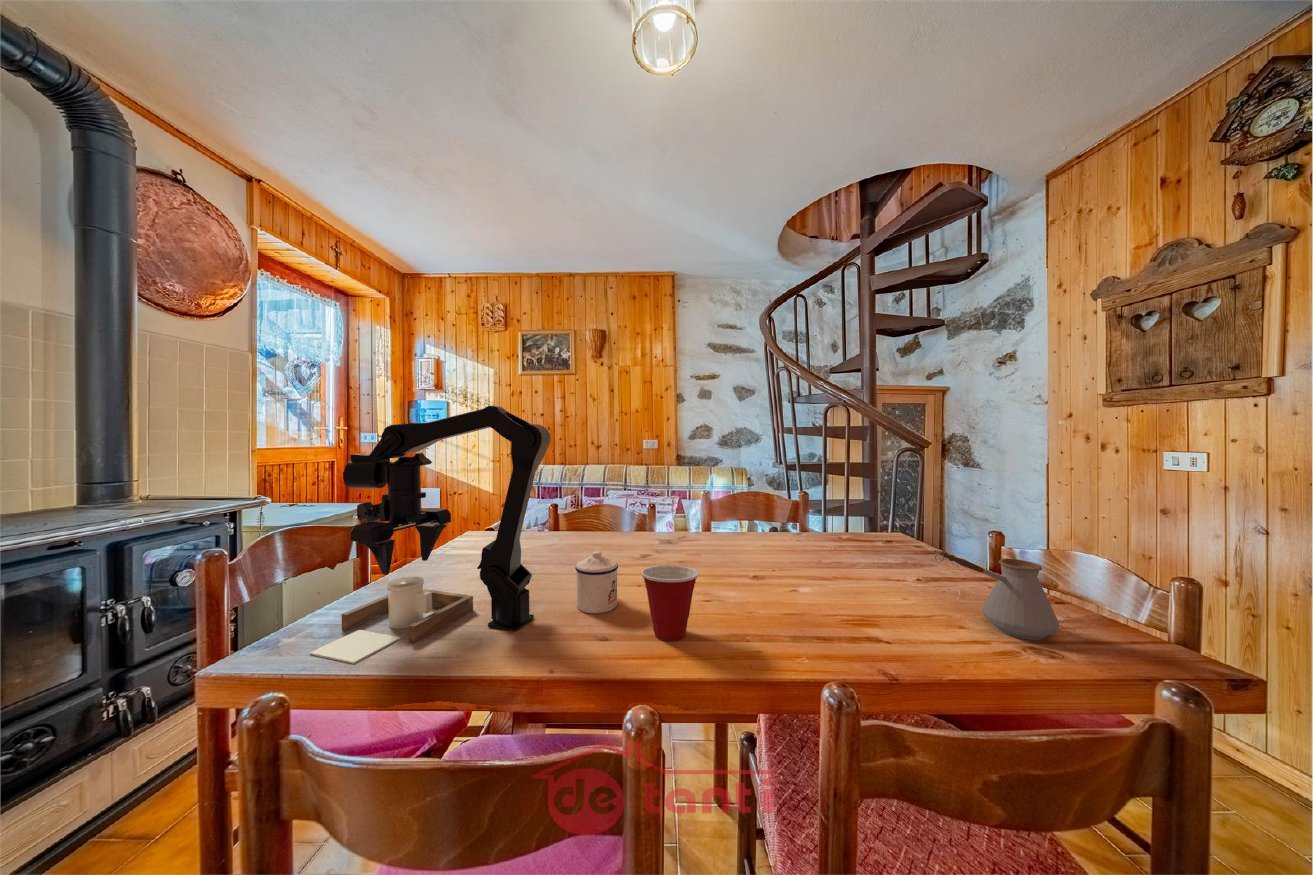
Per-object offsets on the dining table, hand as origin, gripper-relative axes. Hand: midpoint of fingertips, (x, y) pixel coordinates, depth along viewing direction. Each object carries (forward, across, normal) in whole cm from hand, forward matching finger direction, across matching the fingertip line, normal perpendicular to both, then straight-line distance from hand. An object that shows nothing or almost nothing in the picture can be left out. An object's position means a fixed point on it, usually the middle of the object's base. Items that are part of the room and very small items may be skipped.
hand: (406, 567), depth 89 cm
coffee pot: (+12, -31, +109) cm, 114 cm away
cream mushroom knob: (+11, 0, +1) cm, 11 cm away
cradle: (+11, -1, 0) cm, 11 cm away
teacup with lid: (+11, -20, +32) cm, 39 cm away
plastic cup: (+11, -11, +51) cm, 53 cm away
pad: (+11, +11, 0) cm, 15 cm away
